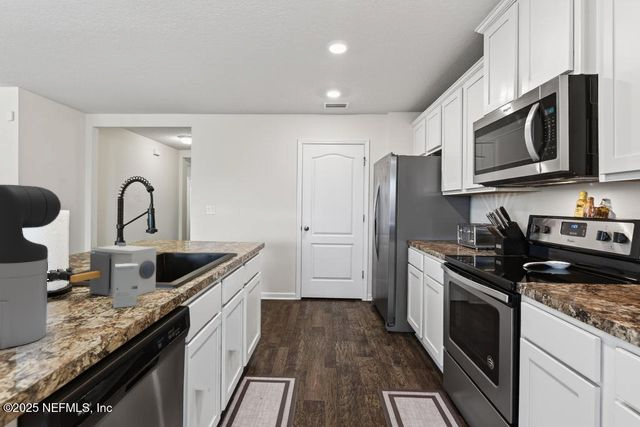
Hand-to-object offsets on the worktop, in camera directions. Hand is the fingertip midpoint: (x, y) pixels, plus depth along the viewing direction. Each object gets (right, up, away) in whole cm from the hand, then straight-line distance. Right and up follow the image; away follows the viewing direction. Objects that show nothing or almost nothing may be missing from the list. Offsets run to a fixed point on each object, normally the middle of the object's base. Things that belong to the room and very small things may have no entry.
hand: (72, 277), depth 99 cm
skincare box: (+18, -8, -3) cm, 20 cm away
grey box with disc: (+9, -7, +11) cm, 16 cm away
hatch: (+3, -7, +2) cm, 8 cm away
